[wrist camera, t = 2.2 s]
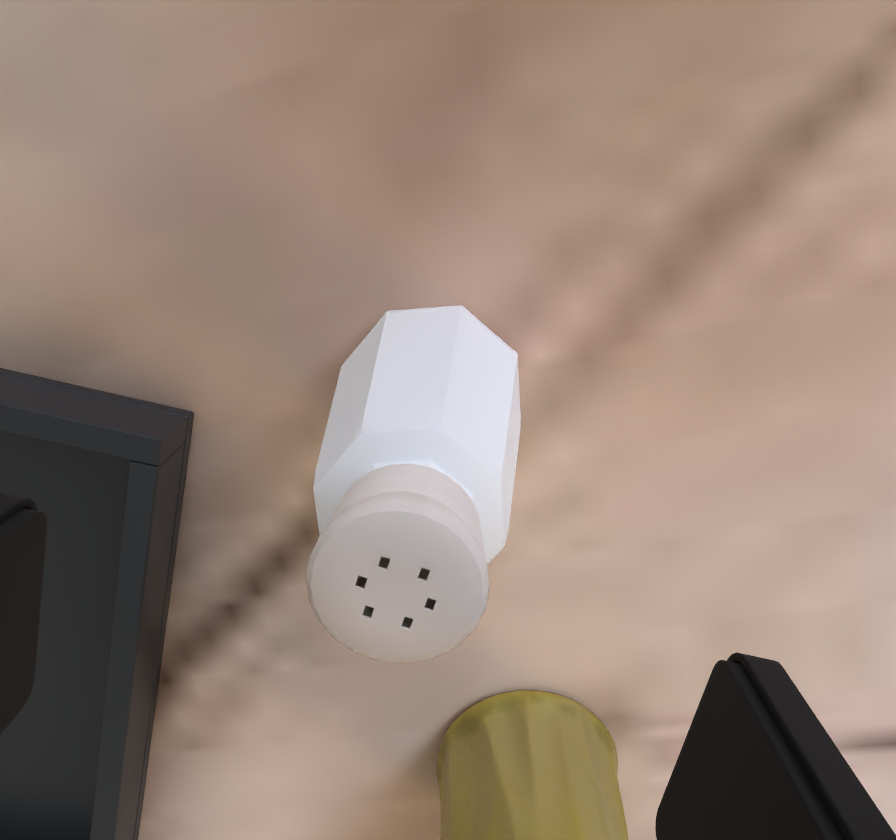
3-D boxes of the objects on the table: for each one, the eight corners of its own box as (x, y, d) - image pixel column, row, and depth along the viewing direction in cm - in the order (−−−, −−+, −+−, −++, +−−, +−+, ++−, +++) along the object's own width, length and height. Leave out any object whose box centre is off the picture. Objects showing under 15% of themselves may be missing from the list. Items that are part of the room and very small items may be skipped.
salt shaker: (318, 448, 22) (182, 687, 12) (368, 273, 21) (263, 370, 10) (490, 502, 23) (506, 779, 12) (553, 334, 21) (633, 489, 11)
